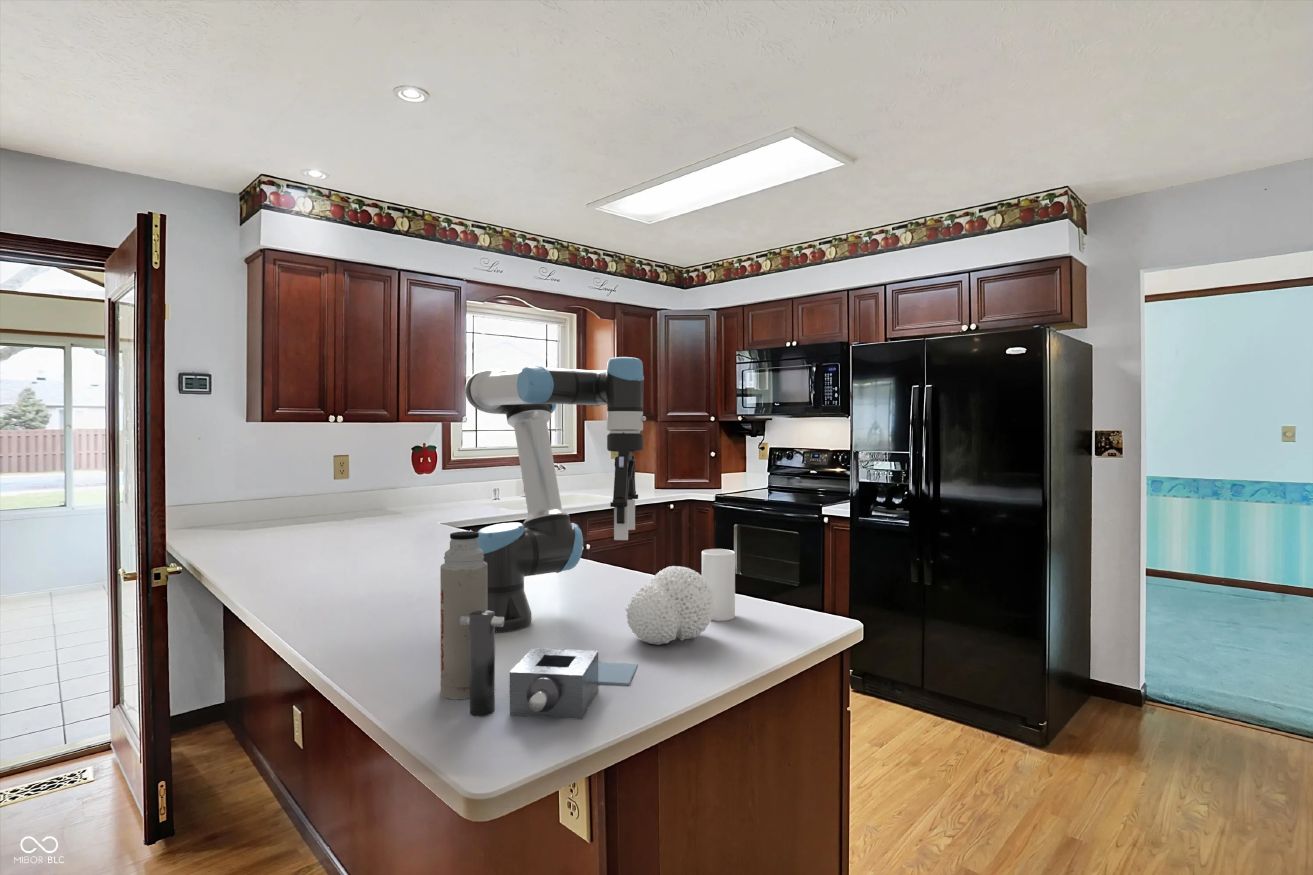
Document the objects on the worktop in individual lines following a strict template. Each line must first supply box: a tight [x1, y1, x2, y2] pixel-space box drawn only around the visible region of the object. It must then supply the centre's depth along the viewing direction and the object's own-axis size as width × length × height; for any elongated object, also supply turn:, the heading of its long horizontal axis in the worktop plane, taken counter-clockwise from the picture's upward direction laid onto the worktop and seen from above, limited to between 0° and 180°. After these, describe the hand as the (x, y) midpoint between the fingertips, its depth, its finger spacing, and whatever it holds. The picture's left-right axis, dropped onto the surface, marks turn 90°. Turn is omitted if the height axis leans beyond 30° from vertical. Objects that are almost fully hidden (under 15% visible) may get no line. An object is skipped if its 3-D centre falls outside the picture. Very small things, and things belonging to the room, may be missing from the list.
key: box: [460, 610, 504, 717], centre depth 109 cm, size 7×4×16 cm, turn 83°
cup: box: [701, 548, 736, 622], centre depth 165 cm, size 8×8×16 cm
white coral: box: [625, 565, 714, 646], centre depth 147 cm, size 20×18×16 cm
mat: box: [598, 661, 638, 686], centre depth 126 cm, size 10×10×1 cm
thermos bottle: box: [440, 530, 488, 700], centre depth 118 cm, size 8×8×28 cm
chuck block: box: [509, 647, 599, 720], centre depth 110 cm, size 12×17×7 cm
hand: (625, 534), depth 139 cm, fingers open, 13 cm apart
